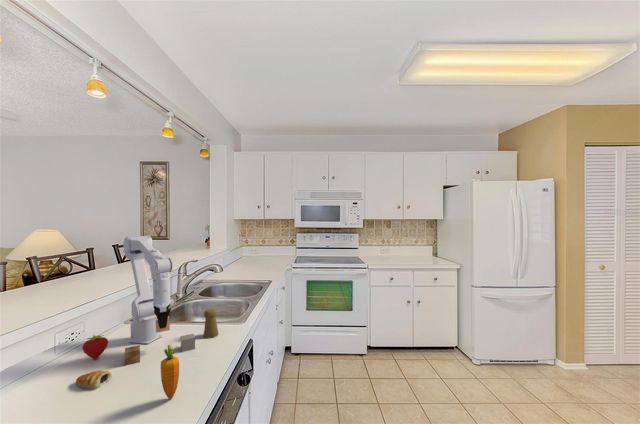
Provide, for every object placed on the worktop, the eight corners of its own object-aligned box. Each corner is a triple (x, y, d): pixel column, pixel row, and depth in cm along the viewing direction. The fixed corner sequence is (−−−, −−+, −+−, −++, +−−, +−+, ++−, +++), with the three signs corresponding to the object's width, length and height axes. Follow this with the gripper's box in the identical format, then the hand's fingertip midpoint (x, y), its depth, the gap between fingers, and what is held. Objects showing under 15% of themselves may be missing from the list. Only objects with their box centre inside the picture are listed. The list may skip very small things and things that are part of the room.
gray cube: (182, 352, 111) (182, 340, 111) (180, 347, 115) (180, 336, 115) (195, 349, 114) (194, 337, 114) (193, 344, 118) (193, 333, 118)
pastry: (68, 389, 89) (68, 376, 89) (89, 377, 96) (89, 365, 96) (96, 391, 88) (96, 378, 88) (114, 378, 95) (114, 366, 95)
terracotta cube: (156, 332, 110) (155, 320, 110) (155, 328, 114) (155, 317, 114) (169, 330, 112) (169, 318, 112) (168, 326, 116) (168, 314, 116)
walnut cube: (124, 366, 102) (124, 353, 102) (125, 360, 106) (125, 348, 106) (139, 362, 104) (139, 349, 104) (140, 357, 108) (139, 345, 108)
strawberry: (108, 359, 107) (108, 331, 107) (81, 366, 102) (81, 337, 102) (108, 353, 112) (108, 326, 112) (83, 359, 107) (82, 331, 107)
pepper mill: (220, 332, 129) (220, 307, 129) (214, 338, 123) (214, 311, 123) (207, 332, 130) (207, 307, 130) (200, 338, 124) (200, 311, 124)
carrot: (165, 394, 85) (164, 342, 85) (183, 392, 86) (182, 341, 86) (157, 405, 80) (156, 350, 80) (176, 404, 81) (175, 349, 81)
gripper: (175, 292, 109) (175, 329, 109) (171, 284, 121) (172, 318, 121) (153, 295, 105) (154, 333, 105) (152, 287, 118) (152, 321, 118)
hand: (162, 325), depth 113 cm, fingers closed on terracotta cube, 4 cm apart
